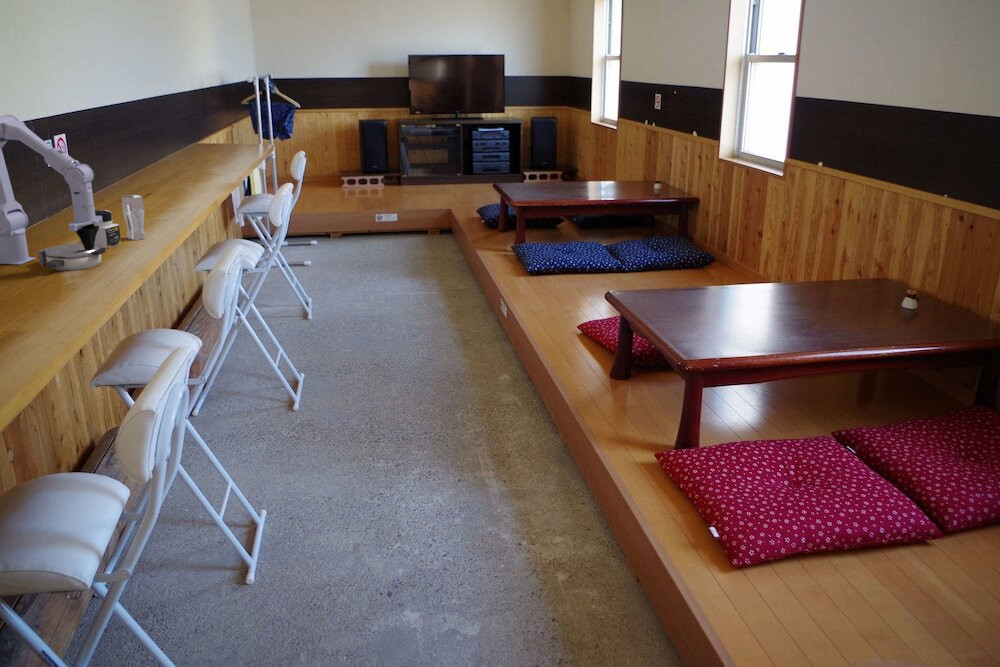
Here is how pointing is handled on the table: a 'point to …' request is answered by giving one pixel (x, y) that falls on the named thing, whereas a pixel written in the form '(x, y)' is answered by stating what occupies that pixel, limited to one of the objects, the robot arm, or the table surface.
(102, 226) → the medicine bottle
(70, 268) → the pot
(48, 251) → the lid
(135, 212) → the beer glass
